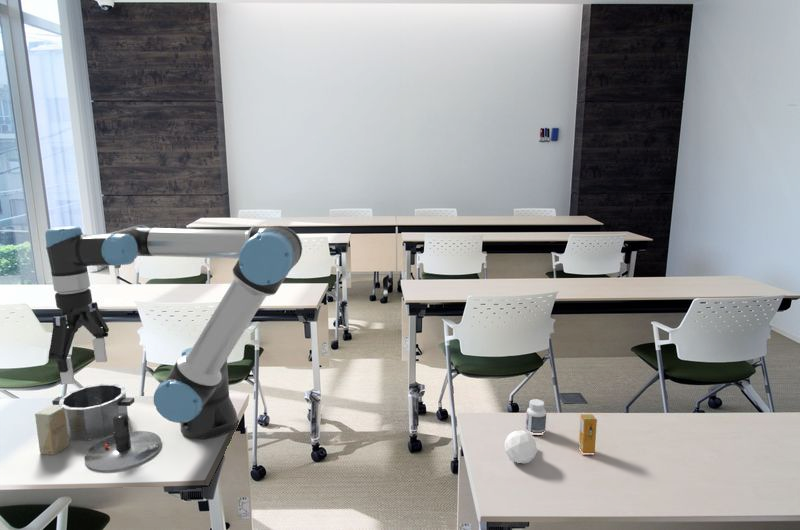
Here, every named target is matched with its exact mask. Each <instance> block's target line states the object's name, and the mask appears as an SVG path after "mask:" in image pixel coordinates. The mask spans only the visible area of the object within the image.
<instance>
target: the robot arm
mask: <svg viewBox="0 0 800 530" xmlns="http://www.w3.org/2000/svg"><path fill="white" fill-rule="evenodd" d="M82 231H83V230H82V228H81V227H80V226H77V225H76V226H75V225H71V226H70V225H68V226H66V225H65V226H56V227H51V228H48V229H47V230H46V231H45V234H44V236H45V244H46V246H45V249H46V252H47V256H48V261H49V266H50V272H51V273H50V274H51V279H52V284H53V291H54V292H55V294H54V298H55V304H56V308H57V309H59V310H61V316H53V317H52V333H51V340H50V345H49V352H48V359H49V360H56V363H57V368H58V372H59V375H60V381H61V385H74V384H75V383H76V381H75V374H74V369H73V364H72V358H71V356H69V355H70V351H71V347H72V344H73V340H74V337H75V334H76V333H77V332H78V331H79V329H81V328H82V327H84V328H85V329H86V330H87V331H88V332H89V333H90V334H91V335H92V336H93V338H92V339H91V341H92V347H93V353H94V360H95V363H106V362H108V356H107V355H108V354H107V349H106V342H105V337H106V338H107V337H108V336H109V331H110V329H109V327H108V324H107V323H106V320H105V319H104V317H103V316H102V314H101V312H100V310H99V307H98V306H99V305H98V303H97V301H95V302H93V297H92V291H91V289H90V287H91V283H90V276H89V271H88V267H91V266H92V267H93V266H94V267H95V266H96V267H98V266H99V267H100V266H101V267H102V266H108V267H109V266H112V267H113V266H115V267H120V266H125V265H126V266H127V265H131V264H134V262H135V260H136V259H137V257H165V258H166V257H169V258H173V257H174V258H175V257H176V258H197V259H198V258H202V259H205V258H206V259H237V262H236V263H235V265H234V267H233V268H232V274H233V277H234V279H233V280H232V282H231V284H230V286H229V287H228V289H227V290H226V292H225V294H224V295H223V297H222V299H221V301H220V302H219V304H218V305H217V307H216V309H215V310H214V312H213V313H212V315H211V317H210V318H209V319H208V322H207V323H206V326H205V327H204V328H203V330H202V332H201V333H200V335H199V337H198V338H197V340H195V343H194V344H193V347H189V348H186V349H184V350H183V351H181V356H180V357H179V358H178V359H177V360H176V362H175V364H174V365H173V367H172V369H171V370H170V373H168V375H167V377H166V378H165V380H164V381H162V382H160V383H159V384H158V386H157V388H155V391H154V393H153V404H154V406H155V409H156V411H157V412H158V413H159V414H160V416H161V417H162V418H164V419H166V420H167V421H169V422H172V423H177V424H179V425H180V432H181V433H182V435H184V436H186V437H187V438H191V439H209V438H215V437H219V436H221V435H224V434H227V433H229V432H230V431H231V430H233V429H234V428H235V427H236V426H237V423H238V413H237V411H236V408H235V406H234V404H233V401H232V400H231V398H230V391H229V390H230V388H229V385H230V384H229V371H228V369H229V368H228V358H229V357H230V355H231V354H232V352H233V350H234V349H235V347H236V345H237V344H238V342H239V341H240V339H241V337H242V336H243V334H244V332H245V331H246V329H247V328H248V326H249V324H250V323H251V322H252V320H253V318H254V317H255V315H256V313H257V312H258V311H259V309H260V306H261V305H262V304H263V303H264V301H265V298H267V297H268V296H273V295H276V293H277V292H278V290H279V288H280V287H281V286H282V284H283V283H284V281H285V279H286V278H287V276H288V274H289V273H290V271H291V270H292V269H293V268H294V267H295V266H296V265H297V264H298V263H299V261H300V259H301V257H302V253H303V244H302V242H301V238H300V236H299V235H298V234H297V233H296V232H295V230H293V229H291V228H289V227H287V226H282V225H272V226H252V227H250V228H249V229H248V230H247V229H246V230H245V229H243V230H242V229H241V230H240V229H210V228H207V229H205V228H204V229H203V228H175V227H174V228H170V227H149V226H146V225H133V226H129V227H128V228H123V229H120V230H116V231H112V232H107V233H102V234H83V232H82Z"/></svg>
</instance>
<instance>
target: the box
mask: <svg viewBox="0 0 800 530" xmlns="http://www.w3.org/2000/svg"><path fill="white" fill-rule="evenodd" d="M34 415H35V425H36V431H37V439H38V447H39V453H40V454H41V455H50V456H51V455H52V456H54V455H56V454H57V453H59V452H61V451H62V450H64V449H66V448H67V447H68V446H69V445H70V443H69V439H68V435H67V426H66V418H65V409H64V407H60V406H59V405H49V406H47V407H46V408H43V409H42V410H39V411H38V412H36V413H34Z"/></svg>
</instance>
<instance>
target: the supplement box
mask: <svg viewBox="0 0 800 530" xmlns="http://www.w3.org/2000/svg"><path fill="white" fill-rule="evenodd" d="M579 421H580V422H579V436H578V437H579V439H578V442H579V443H578V448H579V447H580V449H581V451H582V452H583V453H595V454H596V440H597V439H596V438H597V423H598V420H597V418H596V417H595V416H594V415H593V414H591V413H590V414H589V413H588V414H586V413H585V414H583V413H582V414H580V420H579Z"/></svg>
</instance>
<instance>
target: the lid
mask: <svg viewBox="0 0 800 530" xmlns="http://www.w3.org/2000/svg"><path fill="white" fill-rule="evenodd" d="M129 423H130V422H129V413H128V414H126V413H121V414H117V415H115V416H113V424H114V433H113V434H114V435H112V436H108V437H107V438H103V439H101V440H100V441H98V442H96V443H95V444H93V445H92V446H91V447H90V448H88V450H87V451H86V453H85V454H84V464H85V466H86V467H87V468H88V469H90V470H92V469H93V471H96V470H97V472H116V471H122V470H127V469H129V468H133V467H136V466H139V465H141V464H143V463H145V462H147V461H148V460H151V458H153V457H154V456H155V455H156V454H157V453H158V452H159V451H160V450H161V448H162V439H161V437H160V436H159V435H158V434H156V433H154V432H151V431H145V430H135V431H134V430H132V431H130V424H129Z"/></svg>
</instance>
